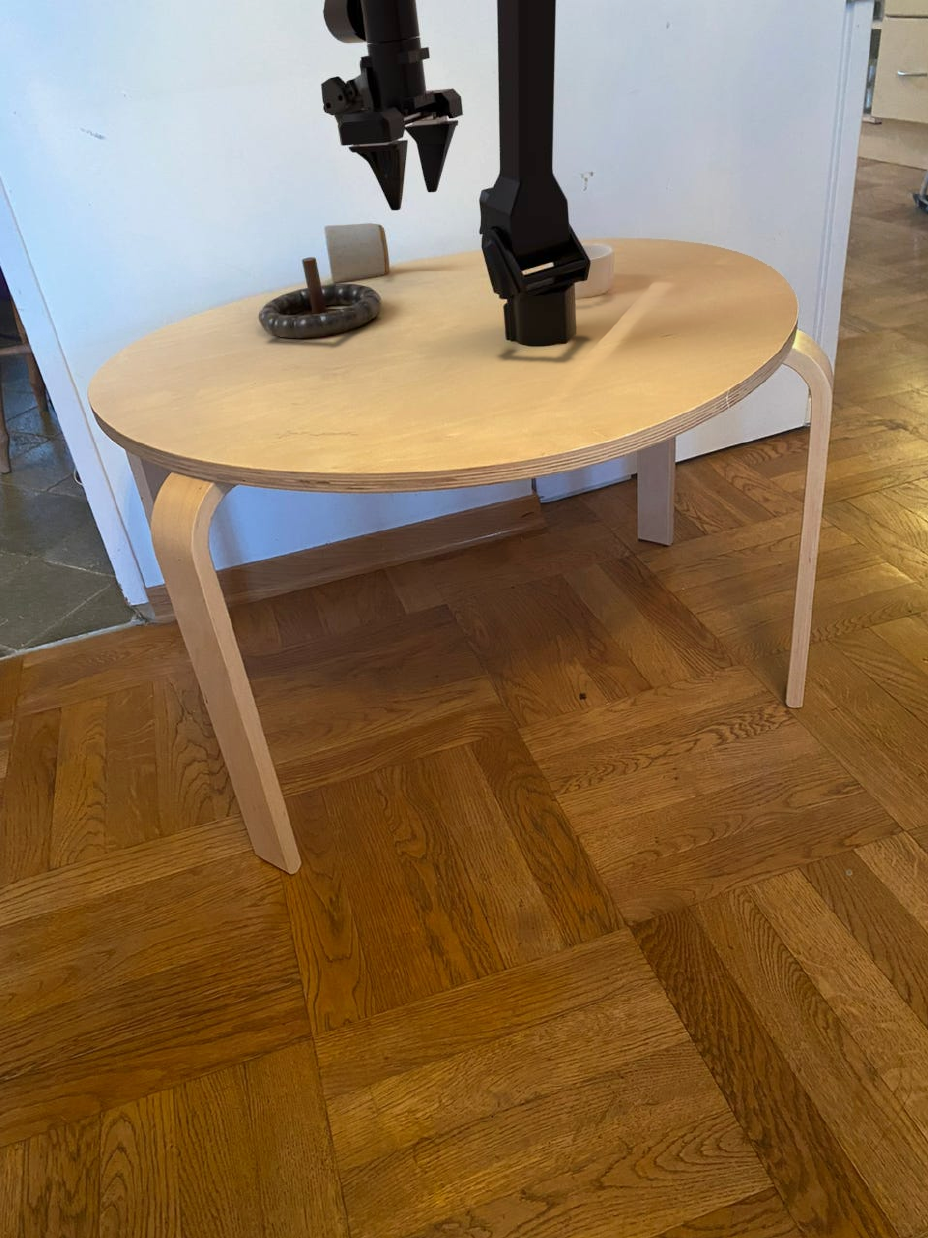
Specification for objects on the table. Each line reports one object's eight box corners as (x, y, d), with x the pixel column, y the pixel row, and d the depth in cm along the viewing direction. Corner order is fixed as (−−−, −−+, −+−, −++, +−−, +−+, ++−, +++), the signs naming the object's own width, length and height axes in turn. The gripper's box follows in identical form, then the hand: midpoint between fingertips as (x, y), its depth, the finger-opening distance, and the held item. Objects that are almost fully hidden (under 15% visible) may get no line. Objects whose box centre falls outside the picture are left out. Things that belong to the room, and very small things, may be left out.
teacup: (621, 304, 99) (620, 255, 96) (554, 313, 99) (552, 264, 96) (602, 281, 108) (601, 235, 104) (541, 289, 108) (538, 244, 104)
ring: (403, 302, 105) (400, 282, 104) (341, 343, 95) (337, 321, 94) (306, 299, 111) (302, 280, 110) (237, 338, 101) (232, 317, 100)
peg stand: (374, 319, 105) (362, 248, 100) (334, 345, 99) (320, 270, 94) (312, 317, 109) (298, 248, 104) (271, 341, 103) (253, 269, 98)
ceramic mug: (394, 283, 117) (385, 222, 113) (334, 293, 116) (322, 232, 112) (385, 266, 126) (377, 209, 121) (329, 275, 125) (319, 218, 120)
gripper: (371, 39, 102) (392, 185, 111) (281, 57, 88) (313, 221, 98) (456, 29, 97) (471, 182, 106) (375, 46, 84) (400, 219, 93)
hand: (414, 200), depth 101 cm, fingers open, 9 cm apart
